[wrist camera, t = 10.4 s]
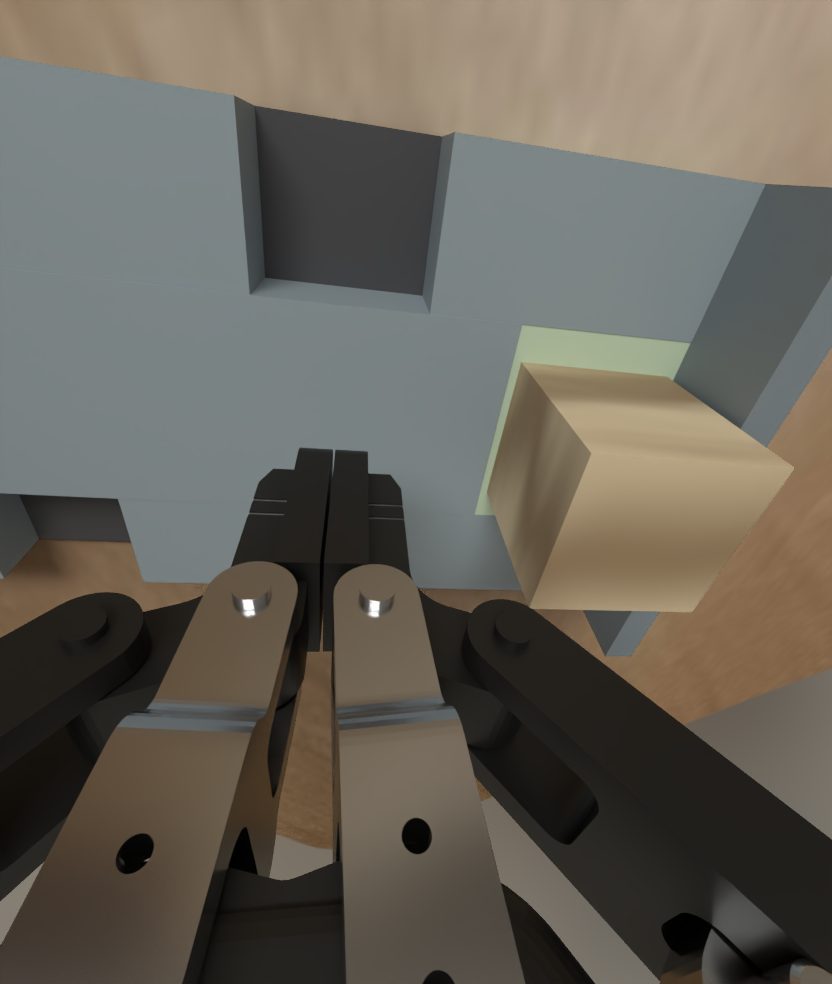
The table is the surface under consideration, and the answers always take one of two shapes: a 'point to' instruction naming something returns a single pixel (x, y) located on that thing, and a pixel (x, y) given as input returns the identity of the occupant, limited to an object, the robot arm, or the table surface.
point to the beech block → (623, 490)
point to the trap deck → (349, 312)
